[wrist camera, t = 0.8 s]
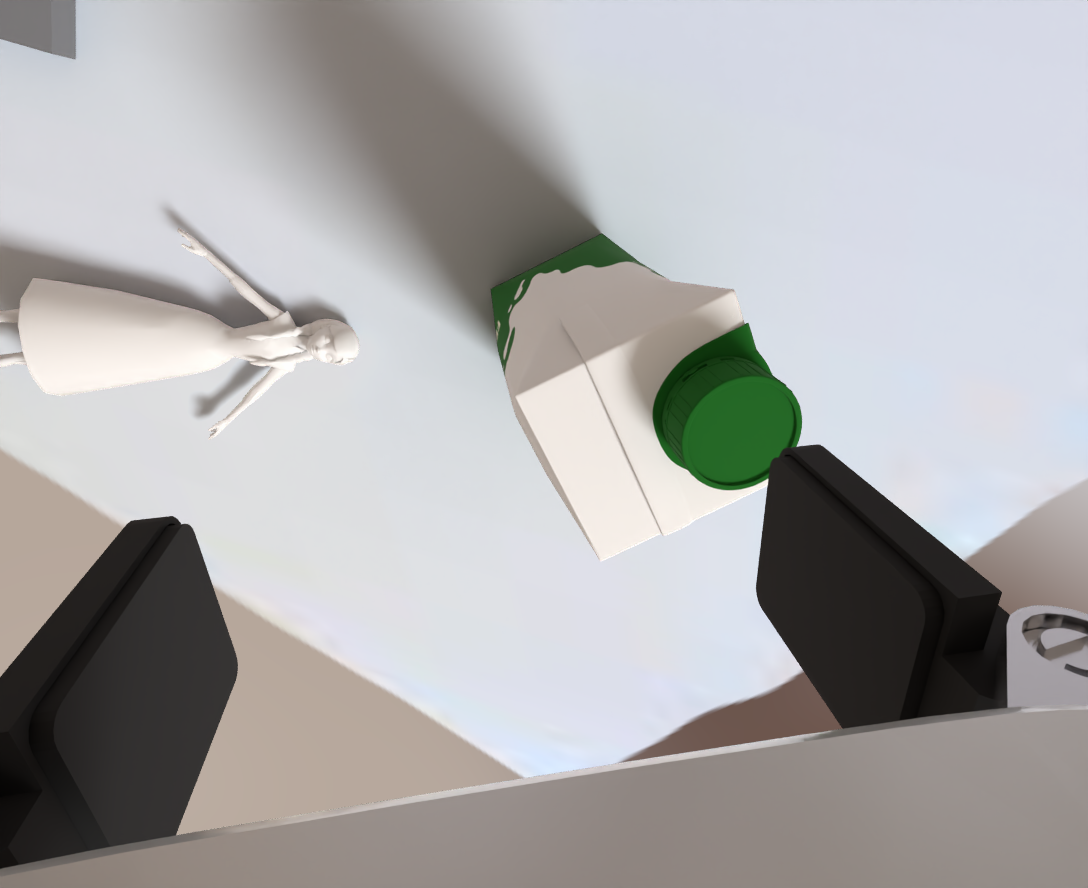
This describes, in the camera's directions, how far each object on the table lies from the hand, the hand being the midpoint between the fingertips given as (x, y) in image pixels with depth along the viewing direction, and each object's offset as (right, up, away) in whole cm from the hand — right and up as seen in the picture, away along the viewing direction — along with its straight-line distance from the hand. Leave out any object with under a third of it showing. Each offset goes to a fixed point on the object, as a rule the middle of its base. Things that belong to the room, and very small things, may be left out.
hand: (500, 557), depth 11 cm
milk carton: (+2, +10, +28) cm, 30 cm away
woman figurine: (-19, +8, +26) cm, 33 cm away
